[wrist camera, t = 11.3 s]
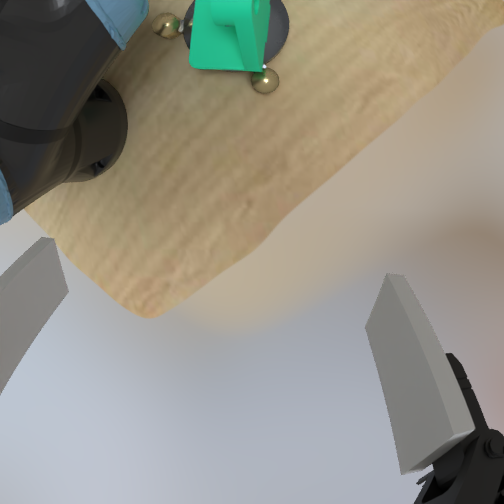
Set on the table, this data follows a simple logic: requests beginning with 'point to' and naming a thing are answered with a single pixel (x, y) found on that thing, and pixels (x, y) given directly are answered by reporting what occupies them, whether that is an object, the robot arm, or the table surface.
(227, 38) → the camera mount
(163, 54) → the table surface
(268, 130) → the table surface
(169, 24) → the plate
